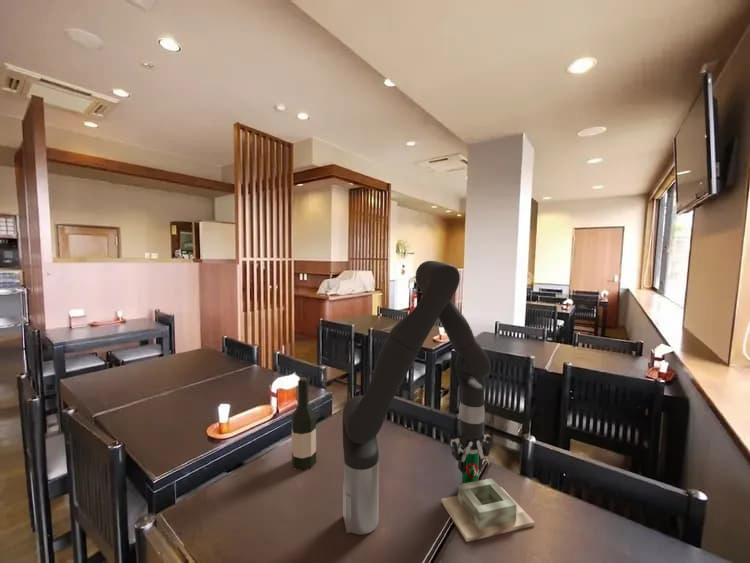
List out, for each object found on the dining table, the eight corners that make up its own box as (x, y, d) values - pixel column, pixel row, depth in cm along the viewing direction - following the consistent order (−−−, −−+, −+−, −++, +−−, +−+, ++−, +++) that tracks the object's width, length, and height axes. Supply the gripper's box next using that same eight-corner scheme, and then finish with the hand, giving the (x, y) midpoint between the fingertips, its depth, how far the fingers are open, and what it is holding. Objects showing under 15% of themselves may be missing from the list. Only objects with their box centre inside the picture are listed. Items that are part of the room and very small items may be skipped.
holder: (466, 541, 81) (466, 520, 80) (441, 501, 94) (441, 483, 94) (534, 525, 86) (534, 505, 85) (501, 489, 99) (501, 472, 99)
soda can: (465, 476, 105) (466, 440, 104) (480, 482, 101) (481, 445, 101) (458, 484, 101) (459, 446, 100) (474, 491, 98) (475, 452, 97)
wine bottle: (321, 462, 113) (320, 378, 111) (301, 473, 107) (299, 384, 105) (307, 452, 119) (306, 372, 117) (287, 463, 113) (285, 378, 111)
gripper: (456, 425, 94) (455, 481, 95) (499, 419, 98) (497, 474, 99) (444, 413, 102) (443, 466, 103) (484, 409, 105) (483, 459, 106)
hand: (470, 469), depth 101 cm, fingers closed on soda can, 5 cm apart
